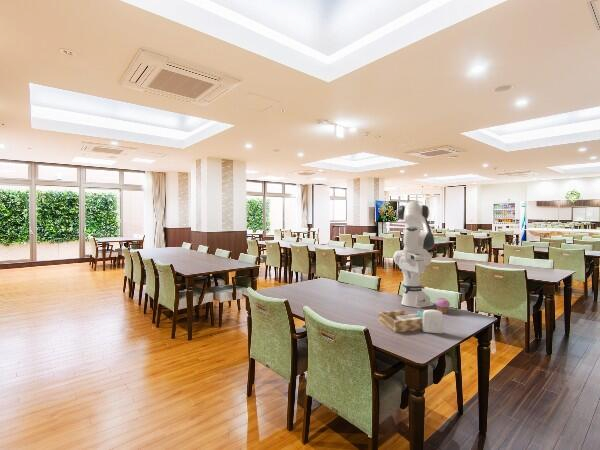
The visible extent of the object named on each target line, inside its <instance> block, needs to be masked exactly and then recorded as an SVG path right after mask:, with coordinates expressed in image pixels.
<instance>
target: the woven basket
mask: <svg viewBox="0 0 600 450" xmlns="http://www.w3.org/2000/svg"><path fill="white" fill-rule="evenodd" d="M398 315H407V310H406V309H402V310H388V311H379V312H378V321H377V322H378V323H379V324H381V325H382V326H384V327H386V328H387V329H389V330H390V331H392V332H394V333H404V332H414V331H423V318H418V319H407V320H397V321H396V320H395V316H398Z"/></svg>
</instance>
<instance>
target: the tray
mask: <svg viewBox="0 0 600 450" xmlns="http://www.w3.org/2000/svg"><path fill="white" fill-rule="evenodd" d="M423 312H424V311H421V310H419V309H418V310H416V313H412V314H406V315H398V316H395V320H396V321H397V320H407V319H418V318H423Z"/></svg>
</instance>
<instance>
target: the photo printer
mask: <svg viewBox="0 0 600 450" xmlns="http://www.w3.org/2000/svg"><path fill="white" fill-rule="evenodd" d="M422 312H423V330H422V332H423V333H430V334H432V333H433V334H441V335H442V334H443V324H444V323H443V321H444V320H443V319H444V316H443V313H442V312H440V311H438V310H437V309H426V310H425V309H424V310H423V311H422Z"/></svg>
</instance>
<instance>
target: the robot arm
mask: <svg viewBox="0 0 600 450" xmlns="http://www.w3.org/2000/svg"><path fill="white" fill-rule="evenodd" d="M396 216H397V219H398V220H401V221H404V222H405V224H404V232H403V235H402V236H401V246H402V247H403V249H401V250H395V252H394V253H393V256H392V257H393V258H392V260H393V262H394V263H395V264H396V265H397V266H398V267H399V270H401V272H402V275H403V283H402V292H403V293H402V299H401V305H403V306H406V307H413V308H418V309H420V308H425V307H426V308H427V307H432V306H435V303H434V302H431V298H430V295H429V294H428V293H426V292H425V291H423V290H424V289H425V288H426V286H425V285H421V275H420V274H424V273H425V270H426V266H429V265H430V264H431V263H432V254H431V253H430V252H428V251H427V250H431V249H433V248H434V247H435V244H436V243H435V237H434V235H433V233H432V229H431V227H430V224H429V221H428V218H429V216H430V209H429V206H427V205H424V204H422V205H421V204H419V203H418V202H417V201H414V200H413V201H412V200H411V201H409V202H407V203H406V205H399V206H398V207H397V208H396ZM421 231H423V232H421Z"/></svg>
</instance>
